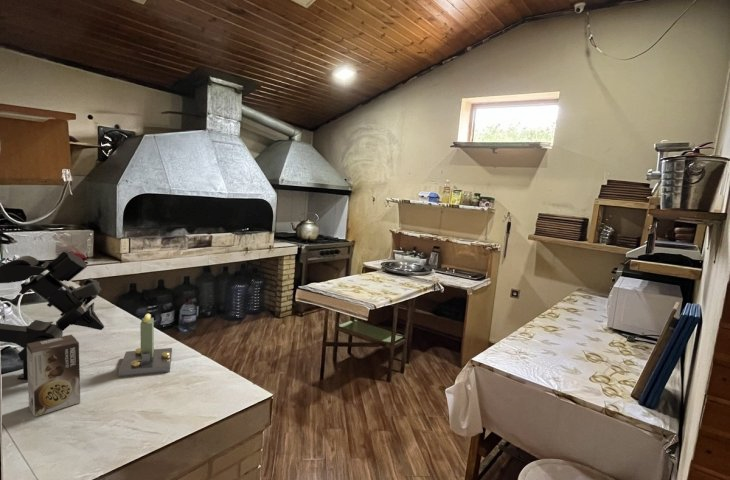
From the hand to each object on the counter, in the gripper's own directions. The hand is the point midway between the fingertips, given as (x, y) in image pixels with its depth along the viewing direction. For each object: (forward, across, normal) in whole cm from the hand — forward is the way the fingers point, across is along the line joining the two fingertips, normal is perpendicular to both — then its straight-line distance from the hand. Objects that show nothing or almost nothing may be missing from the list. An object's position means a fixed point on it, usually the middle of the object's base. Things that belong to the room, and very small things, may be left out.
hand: (102, 328), depth 112 cm
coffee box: (+4, -18, +14) cm, 23 cm away
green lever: (+15, 0, -2) cm, 15 cm away
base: (+17, 0, 0) cm, 17 cm away
